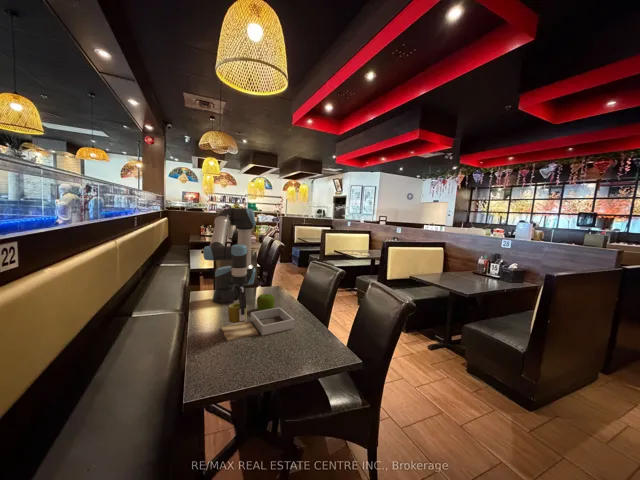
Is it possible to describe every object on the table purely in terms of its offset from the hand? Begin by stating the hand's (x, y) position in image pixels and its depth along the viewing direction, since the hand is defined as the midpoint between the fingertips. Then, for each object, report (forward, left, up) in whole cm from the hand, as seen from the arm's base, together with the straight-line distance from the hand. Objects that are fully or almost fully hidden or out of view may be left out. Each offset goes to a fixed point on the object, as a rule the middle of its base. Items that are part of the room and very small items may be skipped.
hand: (239, 316), depth 133 cm
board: (0, 0, -8) cm, 8 cm away
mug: (0, 0, -2) cm, 2 cm away
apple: (-21, +22, -9) cm, 32 cm away
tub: (0, +18, -8) cm, 20 cm away
